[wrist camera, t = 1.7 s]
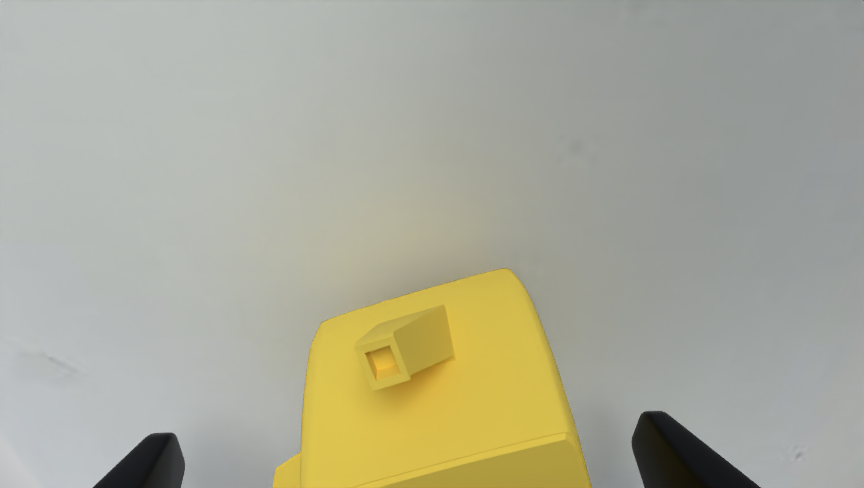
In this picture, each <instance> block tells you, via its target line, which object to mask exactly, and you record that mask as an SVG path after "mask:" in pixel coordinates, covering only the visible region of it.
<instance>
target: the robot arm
mask: <svg viewBox="0 0 864 488" xmlns="http://www.w3.org/2000/svg"><path fill="white" fill-rule="evenodd" d="M632 449H633V453H634V456H635V459H636V462H637V465H638V468H639V471H640V475H641V478H642V481H643V484H644V487H645V488H761V487H759V486H758V485H757V484H756V483H754V482H753V481H752V480H750V479H749V478H748V477H747V476H745V475H744V474H743V473H742V472H740V471H739V470H738V469H737V468H735V467H734V466H733V465H731V464H730V463H729V462H728V461H726V460H725V459H724V458H723V457H721V456H720V455H719V454H718V453H716V452H715V451H714V450H712V449H711V448H710V447H709V446H707V445H706V444H705V443H704V442H702V441H701V440H700V439H699V438H697V437H696V436H695V435H693V434H692V433H691V432H690V431H688V430H687V429H686V428H685V427H683V426H682V425H681V424H680V423H678V422H677V421H676V420H674V419H673V418H672V417H671V416H669V415H668V414H667V413H665V412H663V411H646V412H643V413H642V414H641V415H640V418H639V420H638V423H637V426H636V428H635V431H634V434H633V437H632ZM184 470H185V461H184V457H183V454H182V451H181V448H180V445H179V442H178V439H177V437H176V435H175V434H174V433H153V434H150V435H149V436H147V437H146V438H145V439H144V440H142V441H141V442H140V443H139V444H138V445H137V446H136V447H135V448H134V449H133V450H132V451H131V452H130V453H129V454H128V455H127V456H126V457H125V458H123V459H122V460H121V461H120V462H119V463H118V464H117V465H116V466H115V467H114V468H113V469H112V470H111V471H110V472H109V473H108V474H107V475H106V476H104V477H103V478H102V479H101V480H100V481H99V482H98V483H97V484H96V485H95V486H94V487H93V488H181V484H182V480H183V476H184Z"/></svg>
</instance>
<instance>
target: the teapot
mask: <svg viewBox="0 0 864 488" xmlns="http://www.w3.org/2000/svg"><path fill="white" fill-rule="evenodd" d="M272 488H592V487H591V483H590V479H589V475H588V471H587V467H586V463H585V459H584V455H583V452H582V448H581V444H580V440H579V437H578V433H577V430H576V426H575V422H574V419H573V415H572V412H571V409H570V406H569V402H568V399H567V396H566V393H565V390H564V387H563V384H562V380H561V377H560V374H559V371H558V368H557V365H556V362H555V359H554V356H553V354H552V351H551V348H550V345H549V343H548V340H547V337H546V335H545V332H544V329H543V327H542V324H541V321H540V319H539V316H538V314H537V311H536V309H535V307H534V305H533V302H532V300H531V298H530V296H529V295H528V293H527V291H526V289H525V287H524V286H523V284H522V283H521V281H520V280H519V279H518V277H517V276H516V275H515V274H514V273H513V272H512V271H511V270H510V269H508V268H504V269H498V270H493V271H489V272H485V273H482V274H478V275H474V276H470V277H467V278H463V279H459V280H456V281H452V282H449V283H445V284H441V285H438V286H434V287H431V288H427V289H424V290H420V291H417V292H413V293H410V294H407V295H403V296H400V297H397V298H393V299H390V300H387V301H384V302H380V303H377V304H374V305H371V306H367V307H364V308H361V309H357V310H354V311H351V312H348V313H345V314H342V315H339V316H336V317H333V318H330V319H328V320H326V321H324V322H322V323H321V325H320V326H319V328H318V330H317V332H316V335H315V337H314V339H313V342H312V344H311V348H310V352H309V358H308V364H307V372H306V379H305V389H304V398H303V411H302V429H301V452H299V453H298V454H296V455H295V456H293V457H292V458H290V459H289V460H287V461H286V462H284V463H283V464H281V465H280V466H278V467H277V468H275V475H274V481H273V487H272Z"/></svg>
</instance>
